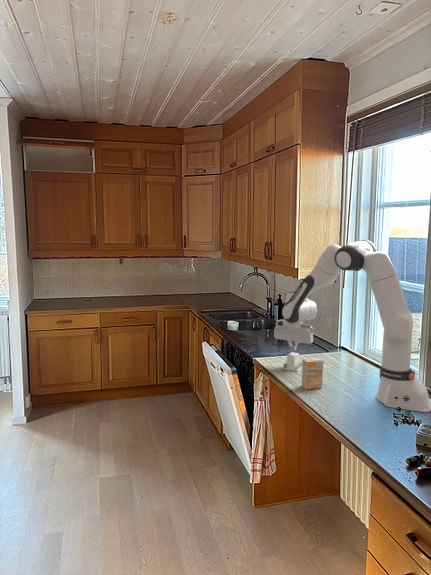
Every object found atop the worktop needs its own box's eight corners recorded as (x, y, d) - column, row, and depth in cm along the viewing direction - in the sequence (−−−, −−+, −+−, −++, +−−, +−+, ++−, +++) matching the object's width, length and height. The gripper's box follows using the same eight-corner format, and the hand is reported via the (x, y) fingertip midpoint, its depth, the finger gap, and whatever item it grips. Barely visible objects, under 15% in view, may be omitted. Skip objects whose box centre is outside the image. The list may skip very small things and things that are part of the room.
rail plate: (303, 368, 230) (303, 363, 230) (297, 372, 224) (297, 367, 224) (288, 365, 235) (288, 360, 234) (282, 368, 229) (282, 364, 228)
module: (298, 366, 231) (299, 353, 230) (294, 369, 226) (294, 356, 225) (291, 365, 233) (292, 352, 232) (286, 368, 228) (287, 355, 227)
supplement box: (306, 390, 200) (306, 362, 199) (301, 386, 205) (302, 358, 203) (322, 388, 203) (323, 360, 201) (317, 384, 207) (318, 357, 205)
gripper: (315, 324, 223) (314, 351, 225) (278, 319, 234) (277, 344, 236) (310, 327, 217) (309, 354, 220) (272, 321, 229) (272, 347, 231)
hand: (292, 349), depth 228 cm, fingers closed
